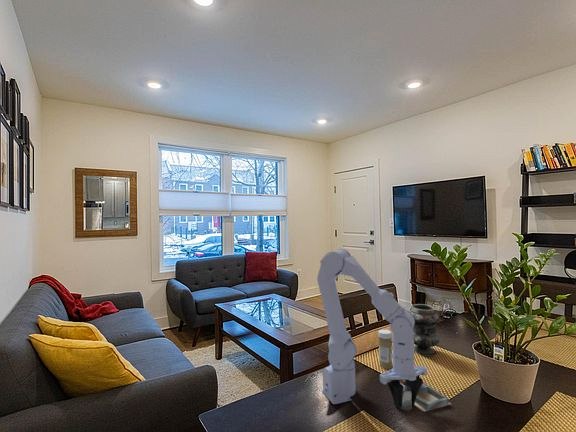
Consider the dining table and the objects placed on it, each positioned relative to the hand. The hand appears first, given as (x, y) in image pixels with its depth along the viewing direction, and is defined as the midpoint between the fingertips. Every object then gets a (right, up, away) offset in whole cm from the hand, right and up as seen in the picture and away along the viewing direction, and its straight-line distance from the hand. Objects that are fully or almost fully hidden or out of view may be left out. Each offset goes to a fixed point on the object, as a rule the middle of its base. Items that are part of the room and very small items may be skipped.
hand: (404, 404), depth 89 cm
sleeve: (0, -2, 0) cm, 2 cm away
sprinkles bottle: (+2, -2, +24) cm, 24 cm away
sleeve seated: (+5, 0, +10) cm, 11 cm away
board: (+6, -2, +6) cm, 9 cm away
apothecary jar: (+22, -2, +38) cm, 44 cm away
